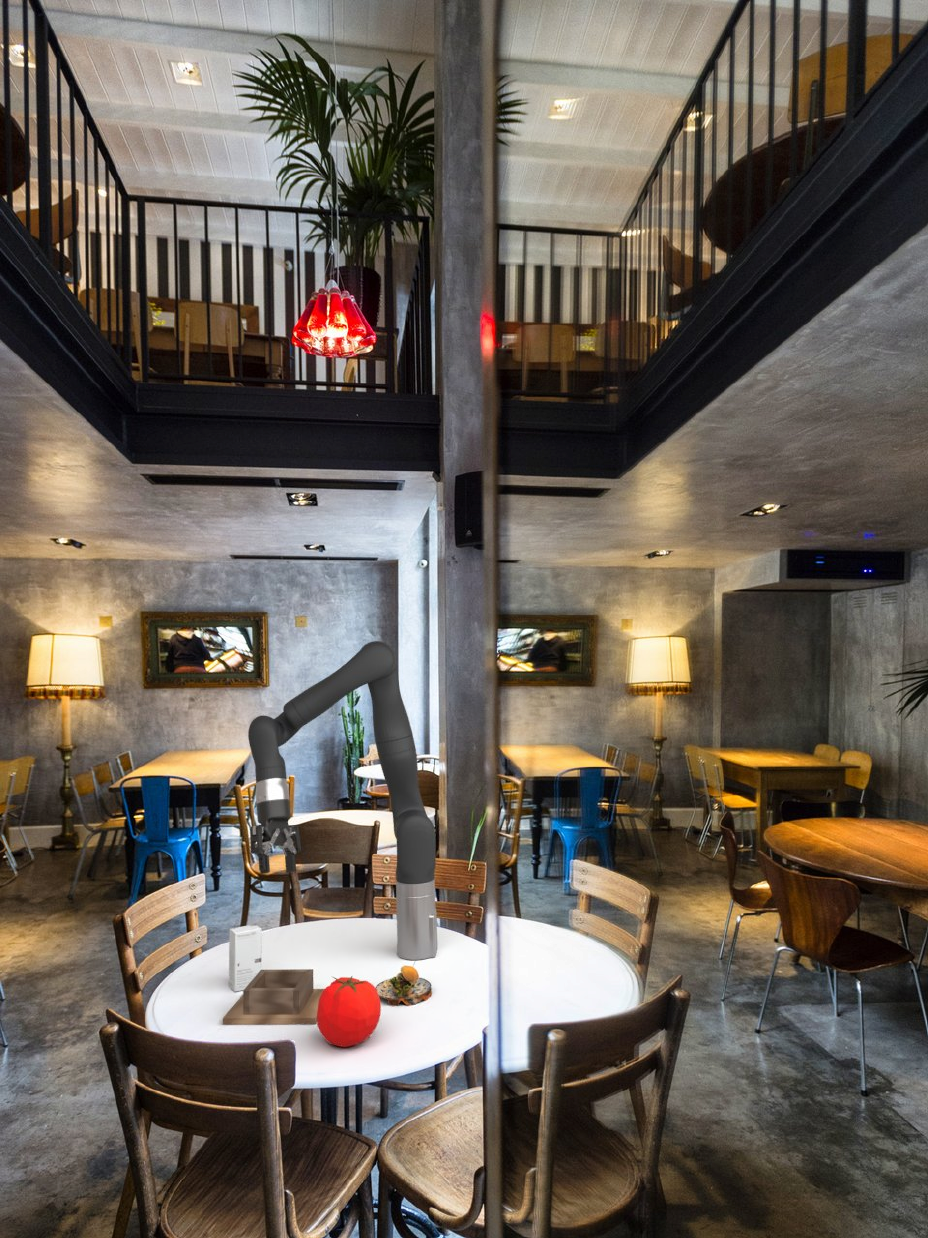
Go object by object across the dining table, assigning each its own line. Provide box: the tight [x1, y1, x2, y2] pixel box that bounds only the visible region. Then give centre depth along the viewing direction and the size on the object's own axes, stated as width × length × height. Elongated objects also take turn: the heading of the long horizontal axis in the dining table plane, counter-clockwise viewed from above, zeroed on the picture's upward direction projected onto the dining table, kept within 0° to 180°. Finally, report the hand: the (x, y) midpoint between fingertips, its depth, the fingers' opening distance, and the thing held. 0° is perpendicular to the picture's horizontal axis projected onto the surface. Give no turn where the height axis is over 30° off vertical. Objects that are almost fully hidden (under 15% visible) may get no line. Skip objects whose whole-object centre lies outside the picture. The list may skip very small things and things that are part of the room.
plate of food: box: [375, 960, 433, 1007], centre depth 162 cm, size 12×12×8 cm
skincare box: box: [228, 924, 263, 993], centre depth 169 cm, size 6×4×12 cm
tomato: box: [316, 975, 382, 1048], centre depth 141 cm, size 12×12×11 cm
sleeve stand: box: [222, 968, 325, 1026], centre depth 156 cm, size 18×14×6 cm
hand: (278, 872), depth 176 cm, fingers open, 8 cm apart
